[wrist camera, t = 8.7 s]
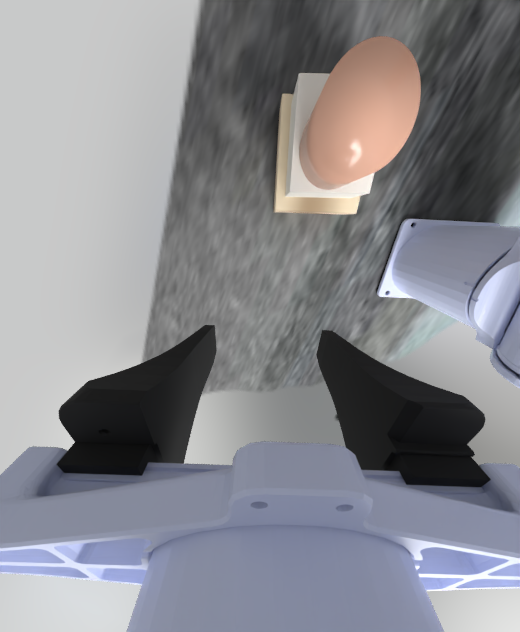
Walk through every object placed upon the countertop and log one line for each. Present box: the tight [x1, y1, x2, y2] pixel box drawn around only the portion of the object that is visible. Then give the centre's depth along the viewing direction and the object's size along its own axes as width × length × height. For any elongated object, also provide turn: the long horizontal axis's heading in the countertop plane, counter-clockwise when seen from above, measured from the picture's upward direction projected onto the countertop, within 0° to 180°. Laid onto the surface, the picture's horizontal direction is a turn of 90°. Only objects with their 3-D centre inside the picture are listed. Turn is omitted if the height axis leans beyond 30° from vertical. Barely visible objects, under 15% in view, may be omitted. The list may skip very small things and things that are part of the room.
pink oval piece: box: [299, 36, 421, 190], centre depth 10 cm, size 4×4×4 cm
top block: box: [285, 73, 374, 198], centre depth 13 cm, size 6×6×3 cm
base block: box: [274, 94, 360, 215], centre depth 16 cm, size 7×7×3 cm
